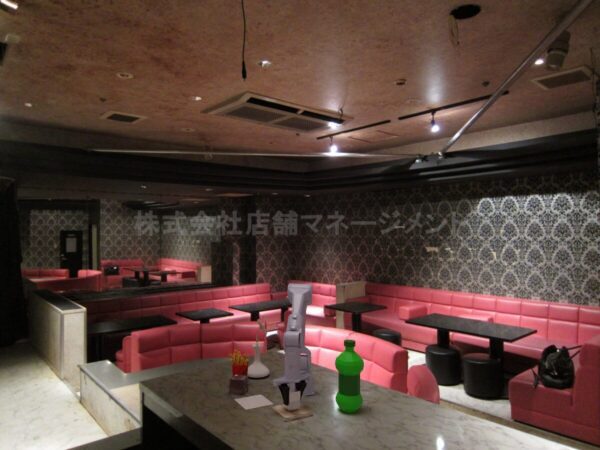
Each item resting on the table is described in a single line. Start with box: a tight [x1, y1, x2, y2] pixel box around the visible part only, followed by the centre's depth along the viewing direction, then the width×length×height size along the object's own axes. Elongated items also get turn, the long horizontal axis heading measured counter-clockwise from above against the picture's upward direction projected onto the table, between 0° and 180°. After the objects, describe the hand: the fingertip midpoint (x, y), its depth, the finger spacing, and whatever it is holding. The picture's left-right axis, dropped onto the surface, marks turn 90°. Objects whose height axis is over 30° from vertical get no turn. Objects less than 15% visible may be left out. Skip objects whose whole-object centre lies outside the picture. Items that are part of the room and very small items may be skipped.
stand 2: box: [271, 402, 314, 424], centre depth 150 cm, size 11×11×2 cm
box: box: [229, 375, 249, 396], centre depth 167 cm, size 6×6×7 cm
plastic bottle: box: [334, 339, 365, 414], centre depth 154 cm, size 10×10×25 cm
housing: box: [282, 388, 301, 411], centre depth 150 cm, size 4×4×6 cm
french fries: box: [228, 349, 250, 377], centre depth 176 cm, size 9×8×15 cm
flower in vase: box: [247, 319, 270, 379], centre depth 193 cm, size 13×11×25 cm
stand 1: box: [234, 394, 274, 410], centre depth 157 cm, size 11×11×2 cm
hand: (291, 403), depth 150 cm, fingers closed on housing, 4 cm apart
